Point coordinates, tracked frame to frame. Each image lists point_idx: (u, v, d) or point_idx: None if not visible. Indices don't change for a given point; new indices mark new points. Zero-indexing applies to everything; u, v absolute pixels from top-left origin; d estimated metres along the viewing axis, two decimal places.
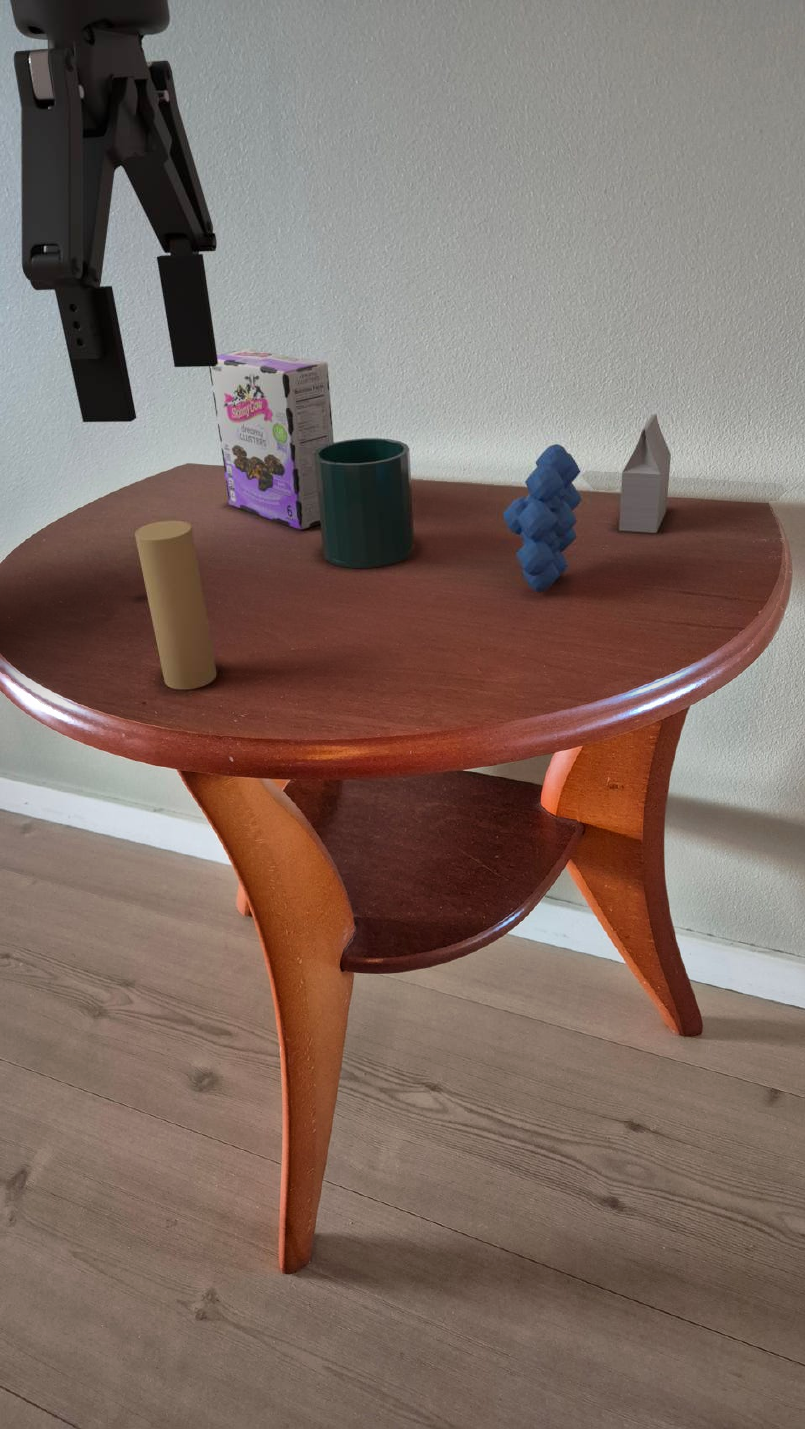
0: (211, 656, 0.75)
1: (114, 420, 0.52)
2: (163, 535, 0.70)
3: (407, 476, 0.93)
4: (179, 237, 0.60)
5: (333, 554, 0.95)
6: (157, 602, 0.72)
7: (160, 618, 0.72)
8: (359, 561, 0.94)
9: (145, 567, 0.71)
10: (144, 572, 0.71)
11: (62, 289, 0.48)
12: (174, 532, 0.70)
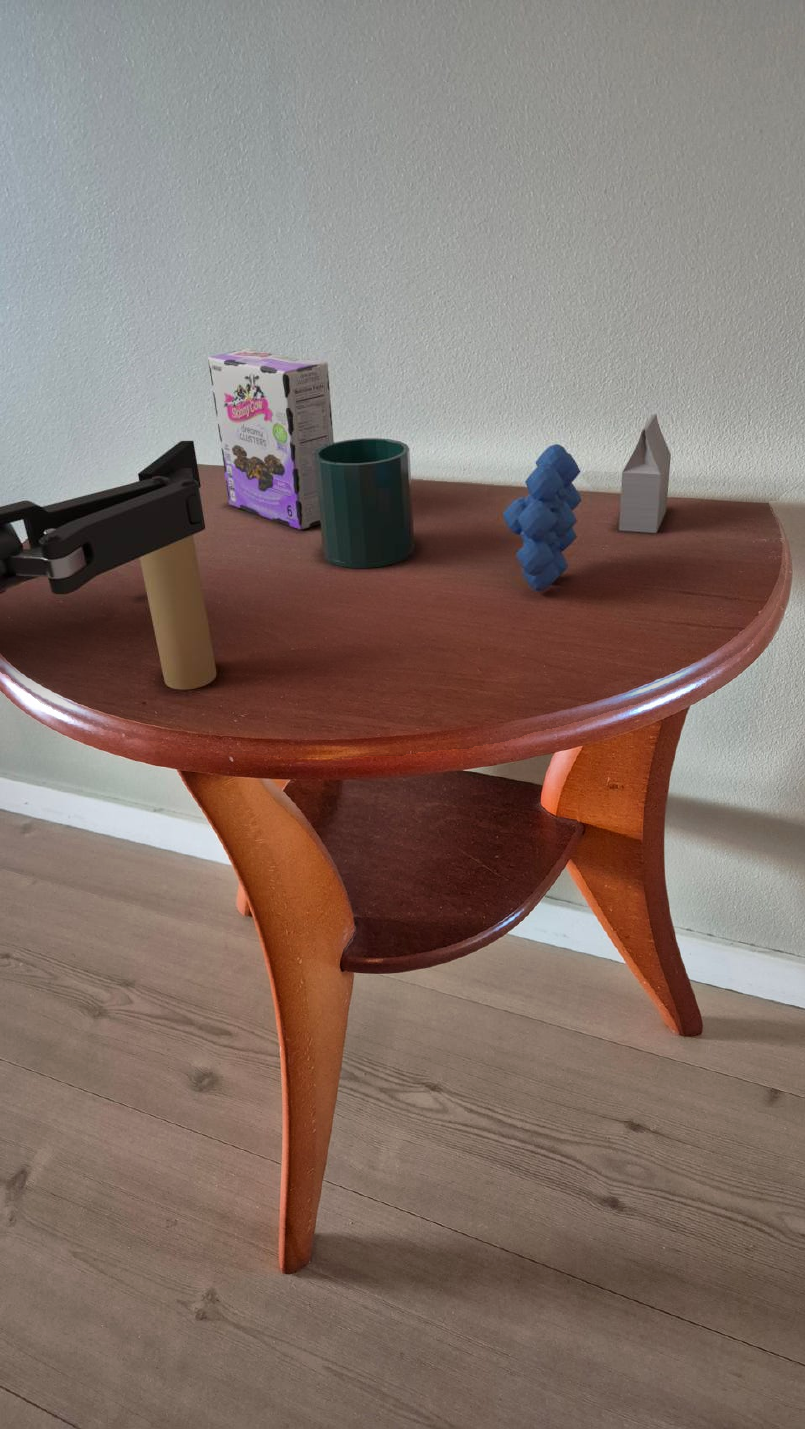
0: (211, 656, 0.75)
1: None
2: None
3: (407, 476, 0.93)
4: None
5: (333, 554, 0.95)
6: (157, 602, 0.72)
7: (160, 618, 0.72)
8: (359, 561, 0.94)
9: (145, 567, 0.71)
10: (144, 572, 0.71)
11: None
12: None
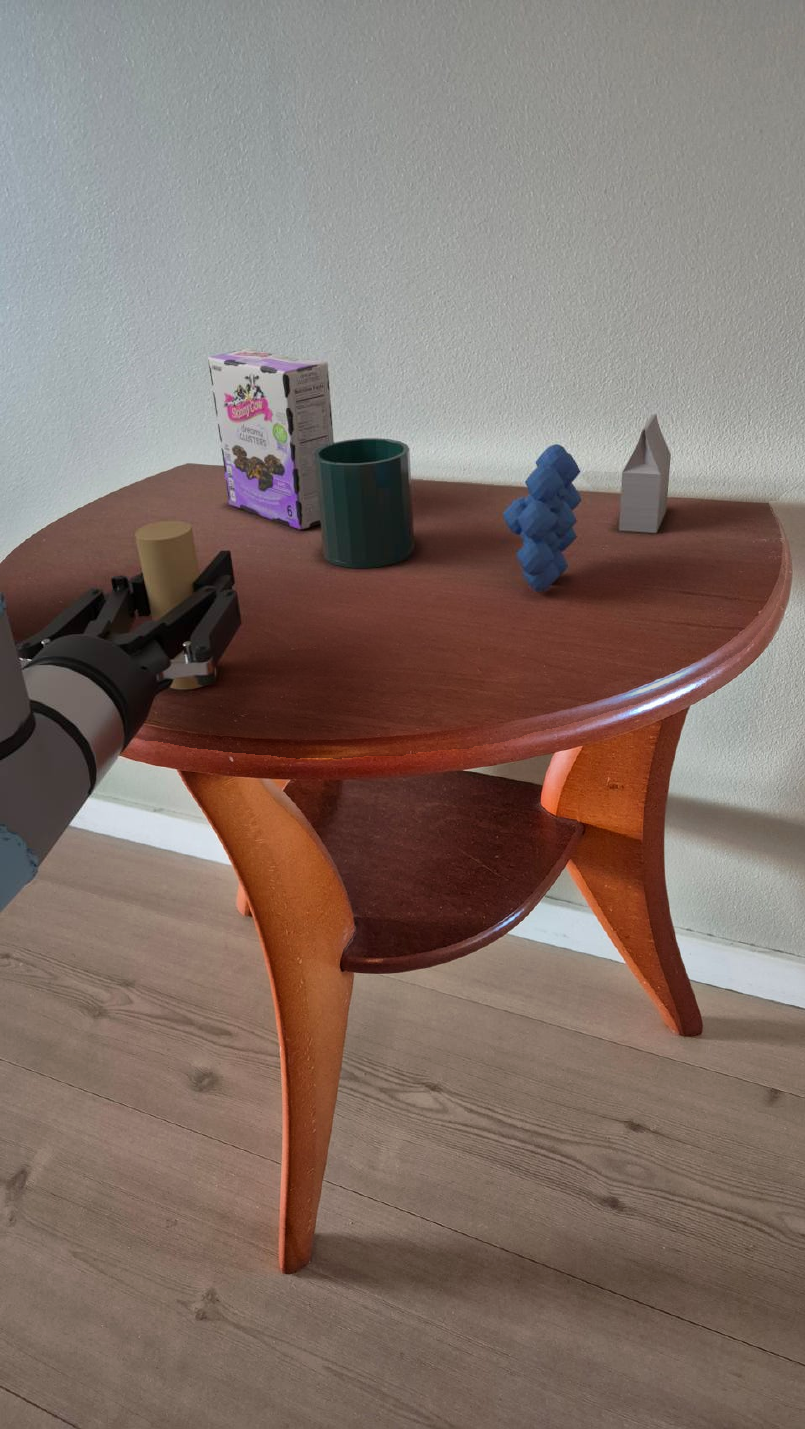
0: None
1: None
2: (163, 535, 0.70)
3: (407, 476, 0.93)
4: None
5: (333, 554, 0.95)
6: (157, 602, 0.72)
7: None
8: (359, 561, 0.94)
9: (145, 567, 0.71)
10: (144, 572, 0.71)
11: None
12: (174, 532, 0.70)
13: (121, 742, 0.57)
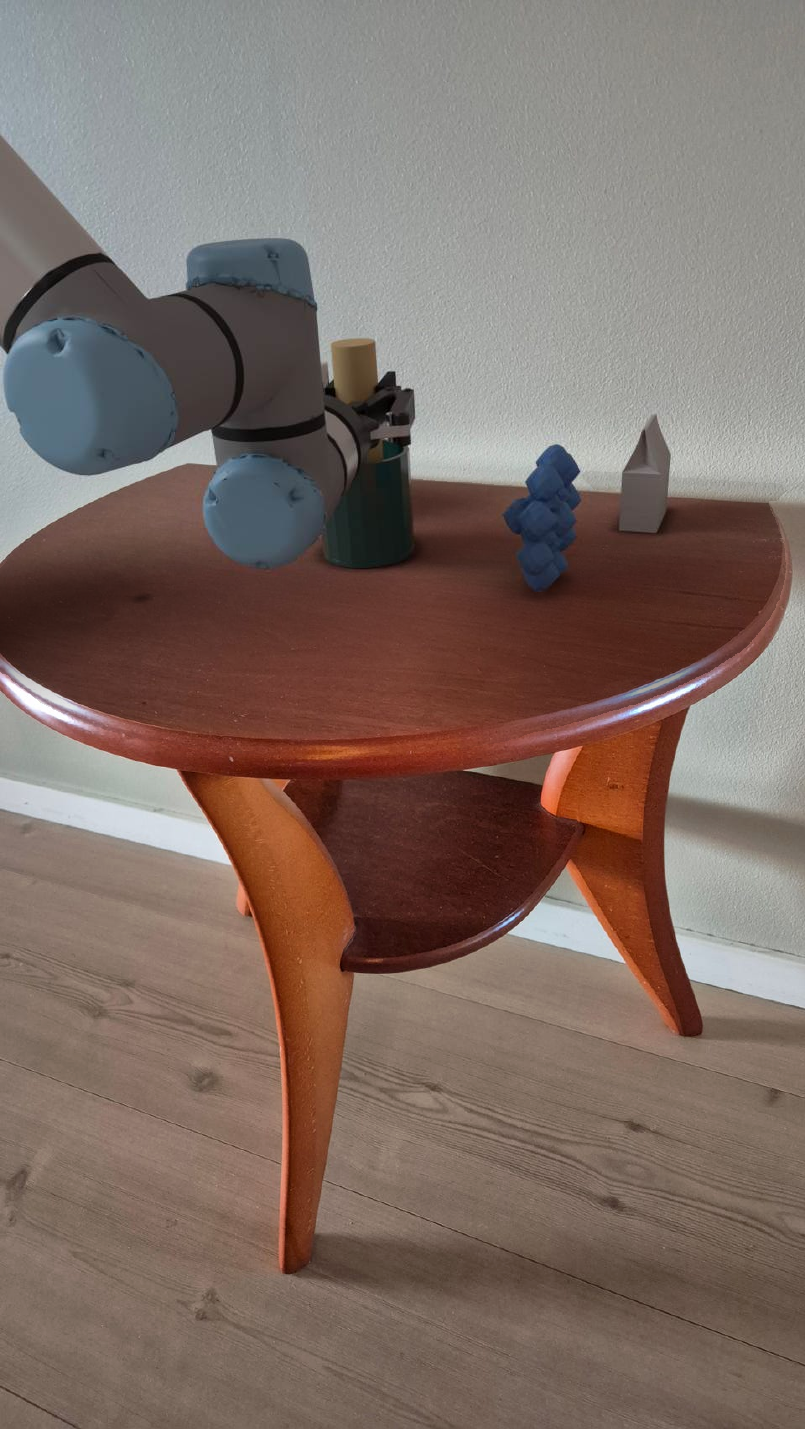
0: (382, 454, 0.93)
1: None
2: (355, 344, 0.87)
3: (407, 476, 0.93)
4: None
5: (333, 554, 0.95)
6: (346, 402, 0.89)
7: None
8: (359, 561, 0.94)
9: (338, 372, 0.88)
10: (337, 377, 0.89)
11: None
12: (363, 343, 0.88)
13: (355, 470, 0.75)
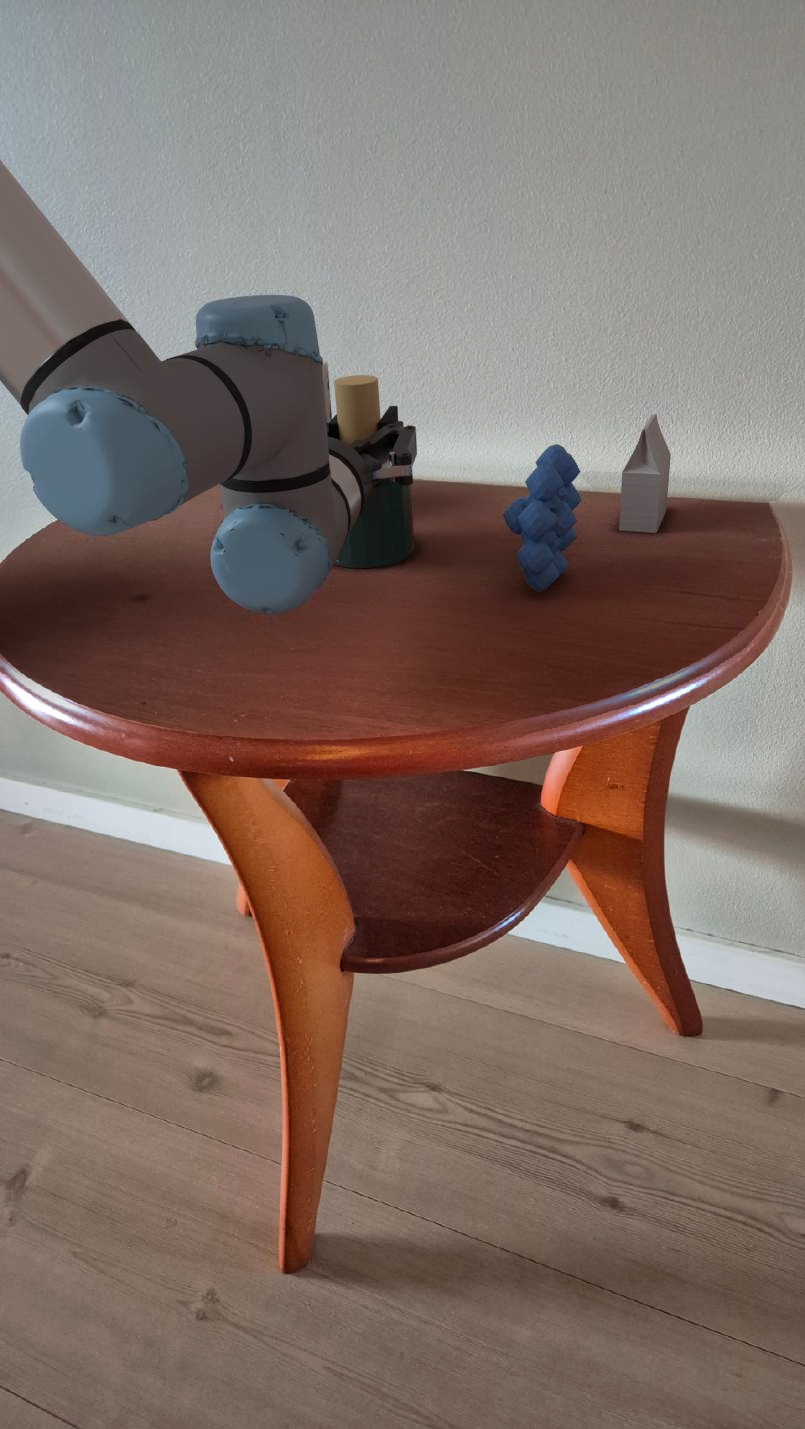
0: None
1: None
2: (358, 382, 0.89)
3: None
4: None
5: None
6: (349, 439, 0.91)
7: None
8: (359, 561, 0.94)
9: (342, 409, 0.90)
10: (340, 414, 0.90)
11: None
12: (366, 380, 0.89)
13: (359, 512, 0.76)
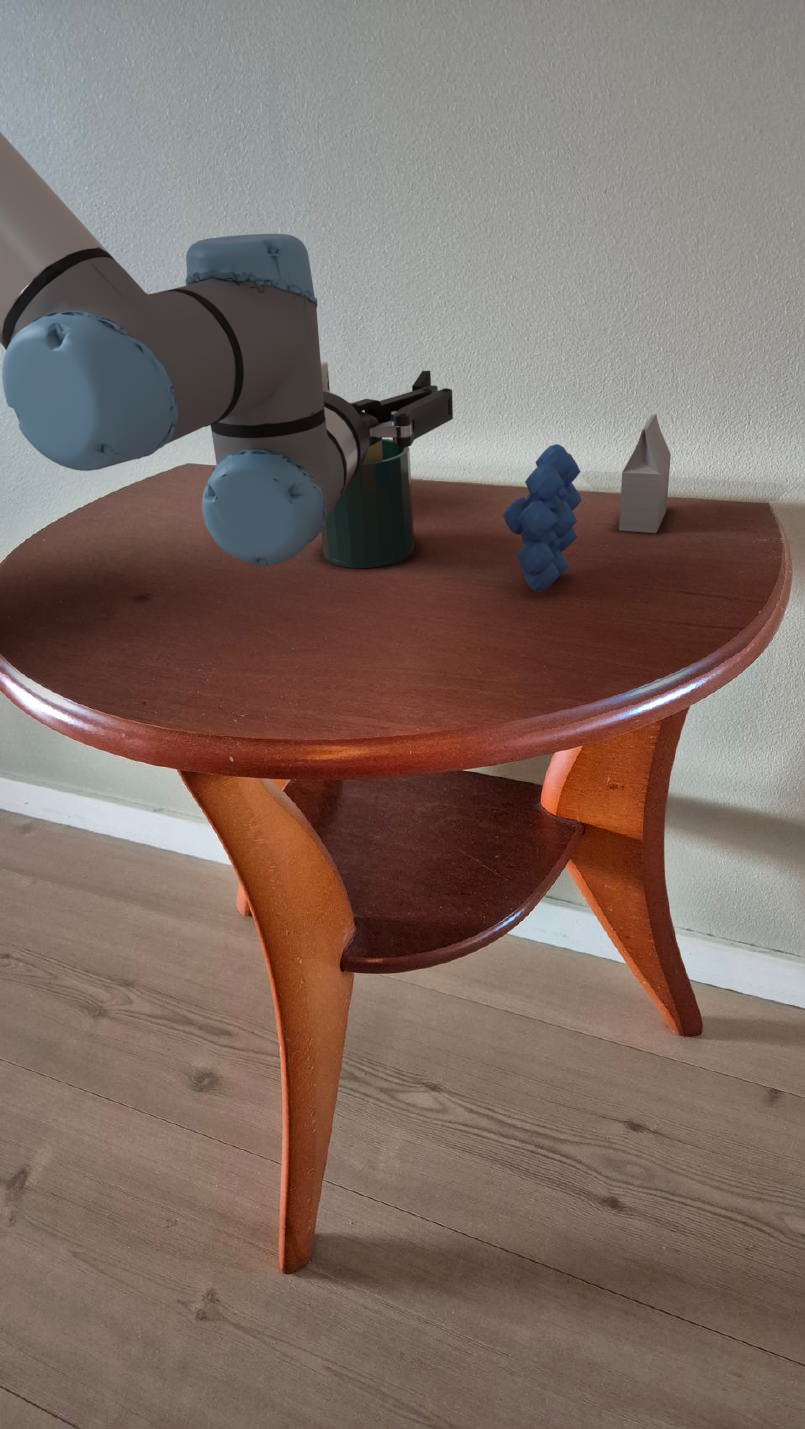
0: None
1: None
2: None
3: (407, 476, 0.93)
4: None
5: (333, 554, 0.95)
6: None
7: None
8: (359, 561, 0.94)
9: None
10: None
11: None
12: None
13: (355, 467, 0.74)
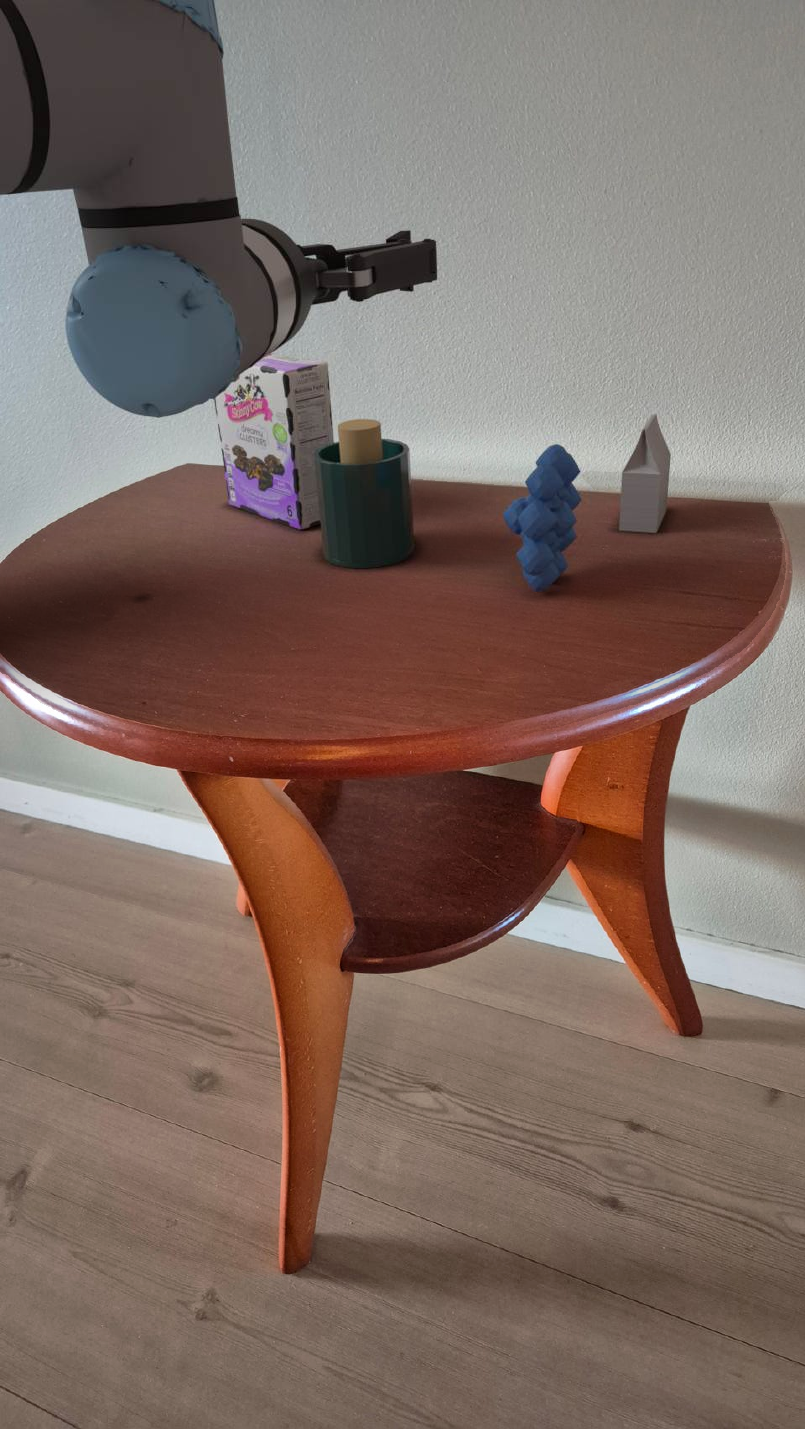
0: None
1: None
2: (361, 427, 0.91)
3: (407, 476, 0.93)
4: None
5: (333, 554, 0.95)
6: None
7: None
8: (359, 561, 0.94)
9: (345, 453, 0.92)
10: (343, 457, 0.92)
11: None
12: (369, 425, 0.91)
13: (293, 312, 0.57)
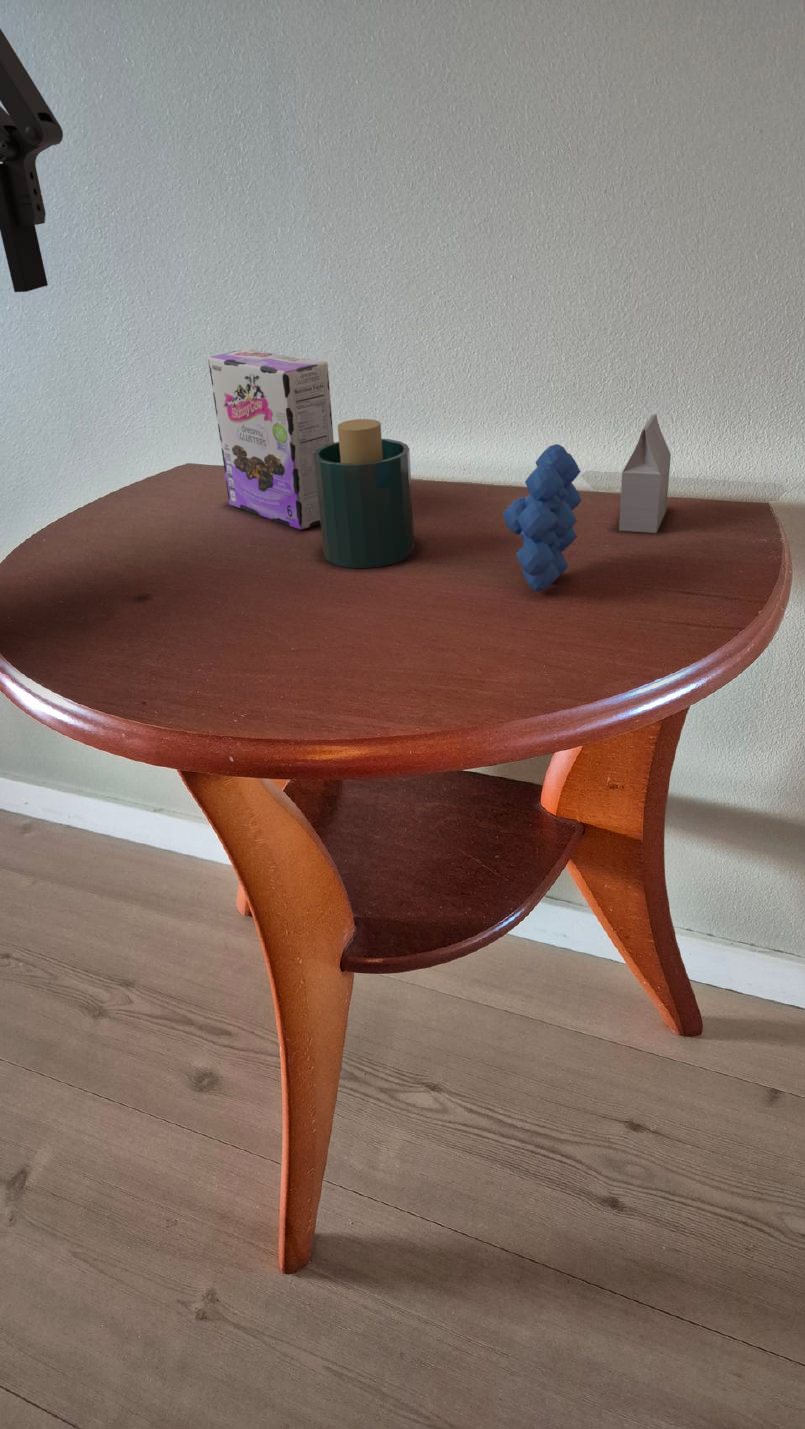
0: None
1: None
2: (361, 427, 0.91)
3: (407, 476, 0.93)
4: None
5: (333, 554, 0.95)
6: None
7: None
8: (359, 561, 0.94)
9: (345, 453, 0.92)
10: (343, 457, 0.92)
11: None
12: (369, 425, 0.91)
13: None
